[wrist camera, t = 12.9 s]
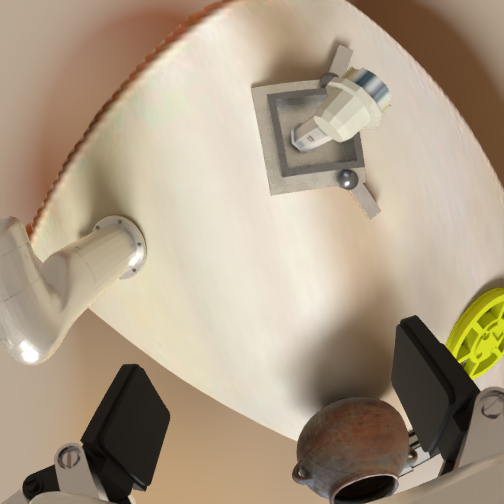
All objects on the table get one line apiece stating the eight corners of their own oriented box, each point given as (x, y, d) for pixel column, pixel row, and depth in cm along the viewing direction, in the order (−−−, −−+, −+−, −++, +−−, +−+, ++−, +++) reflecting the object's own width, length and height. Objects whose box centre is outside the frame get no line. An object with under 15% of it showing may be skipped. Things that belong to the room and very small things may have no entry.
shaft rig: (276, 229, 47) (278, 241, 40) (244, 58, 38) (240, 43, 31) (376, 215, 45) (392, 224, 38) (347, 49, 36) (359, 34, 29)
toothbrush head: (281, 137, 41) (300, 108, 17) (309, 108, 39) (357, 54, 15) (306, 159, 42) (353, 160, 18) (333, 131, 40) (406, 104, 16)
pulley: (449, 387, 59) (455, 398, 54) (433, 332, 53) (443, 344, 48) (513, 333, 53) (521, 341, 48) (509, 266, 46) (521, 273, 42)
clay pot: (386, 353, 54) (435, 460, 26) (394, 410, 61) (424, 494, 33) (279, 391, 59) (281, 506, 31) (309, 439, 66) (316, 527, 37)
